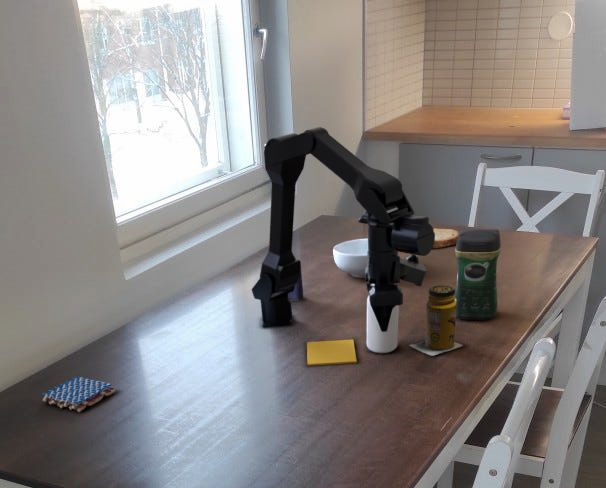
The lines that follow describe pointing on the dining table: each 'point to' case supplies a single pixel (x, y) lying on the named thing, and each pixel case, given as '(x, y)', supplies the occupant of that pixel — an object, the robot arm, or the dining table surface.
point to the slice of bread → (445, 237)
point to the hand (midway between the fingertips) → (382, 325)
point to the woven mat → (78, 393)
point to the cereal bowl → (352, 257)
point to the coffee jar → (477, 273)
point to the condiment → (439, 321)
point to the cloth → (331, 352)
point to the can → (379, 339)
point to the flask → (297, 290)
